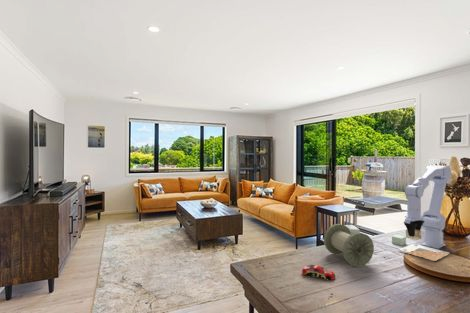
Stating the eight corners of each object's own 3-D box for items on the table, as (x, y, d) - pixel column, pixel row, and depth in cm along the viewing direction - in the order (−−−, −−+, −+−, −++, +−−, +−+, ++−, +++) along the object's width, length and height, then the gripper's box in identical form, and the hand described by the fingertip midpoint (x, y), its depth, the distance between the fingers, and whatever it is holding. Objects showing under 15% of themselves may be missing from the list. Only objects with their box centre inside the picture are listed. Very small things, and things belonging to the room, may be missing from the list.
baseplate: (413, 245, 145) (413, 242, 145) (449, 254, 131) (449, 251, 131) (398, 251, 136) (398, 249, 136) (435, 262, 122) (435, 259, 122)
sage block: (396, 241, 151) (396, 234, 151) (406, 244, 147) (406, 236, 147) (391, 243, 149) (391, 236, 149) (401, 245, 145) (401, 238, 144)
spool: (324, 254, 133) (323, 225, 133) (349, 251, 137) (349, 222, 137) (345, 268, 117) (345, 234, 117) (373, 264, 121) (373, 232, 121)
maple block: (410, 235, 140) (410, 228, 139) (421, 238, 135) (421, 230, 135) (405, 237, 137) (405, 229, 137) (416, 240, 133) (416, 232, 133)
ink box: (343, 246, 145) (343, 224, 145) (353, 246, 145) (353, 224, 145) (350, 252, 136) (350, 229, 136) (360, 251, 136) (360, 229, 136)
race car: (335, 276, 110) (335, 267, 110) (334, 282, 105) (334, 272, 105) (303, 270, 116) (303, 261, 116) (301, 276, 111) (301, 266, 111)
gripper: (412, 205, 143) (412, 230, 143) (398, 209, 135) (398, 235, 135) (427, 208, 137) (427, 234, 137) (413, 211, 129) (413, 239, 129)
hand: (414, 235), depth 136 cm, fingers closed on maple block, 5 cm apart
